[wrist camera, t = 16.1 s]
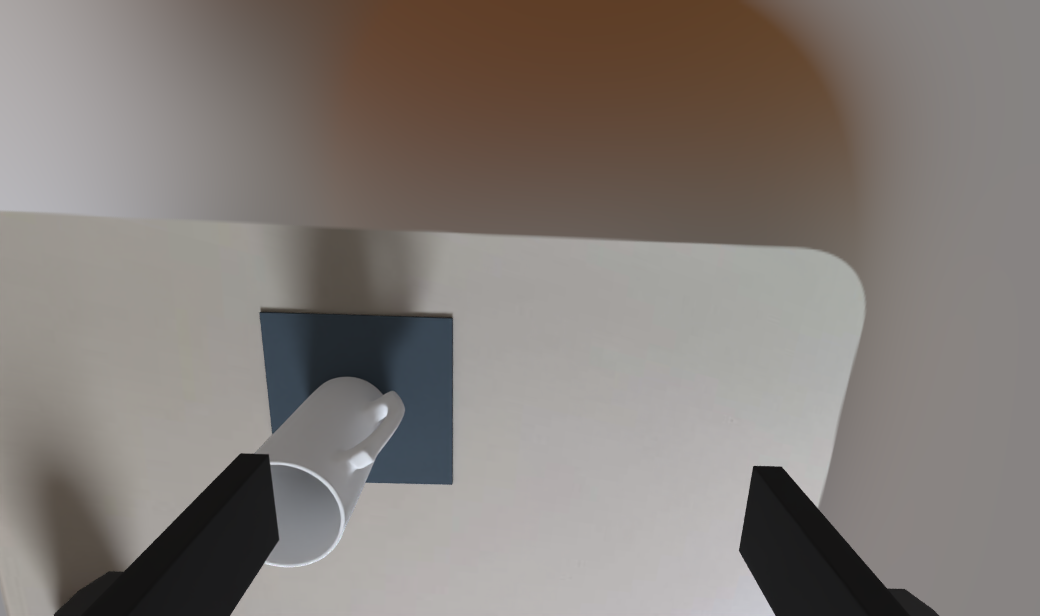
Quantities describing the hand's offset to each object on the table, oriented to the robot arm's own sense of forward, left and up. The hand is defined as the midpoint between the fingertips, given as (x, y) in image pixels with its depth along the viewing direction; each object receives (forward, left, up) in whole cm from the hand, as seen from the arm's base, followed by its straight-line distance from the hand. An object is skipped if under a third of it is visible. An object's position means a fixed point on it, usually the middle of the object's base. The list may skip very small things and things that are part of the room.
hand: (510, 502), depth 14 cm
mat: (+11, +9, -24) cm, 28 cm away
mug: (+11, +9, -24) cm, 28 cm away
